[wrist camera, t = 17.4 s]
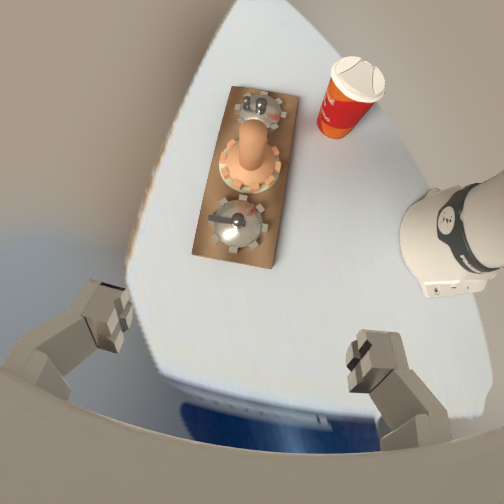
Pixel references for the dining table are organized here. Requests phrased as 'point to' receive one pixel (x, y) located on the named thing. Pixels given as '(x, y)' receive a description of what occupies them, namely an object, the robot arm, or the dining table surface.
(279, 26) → the dining table surface
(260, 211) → the gear
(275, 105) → the gear
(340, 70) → the paper cup
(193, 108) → the dining table surface
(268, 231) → the gear board
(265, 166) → the idler gear
